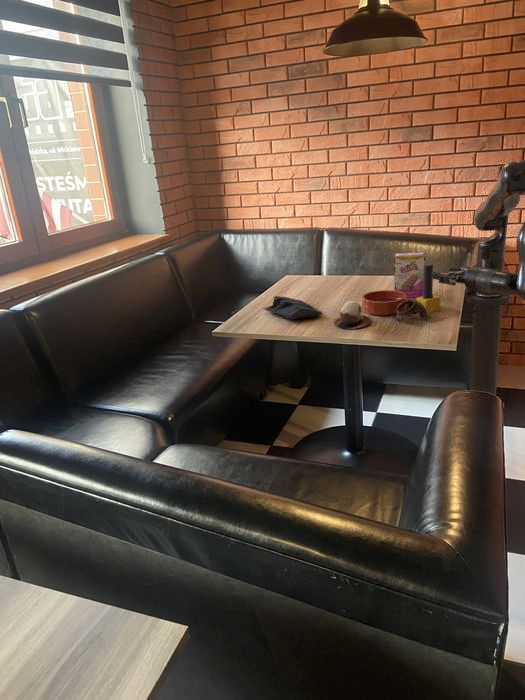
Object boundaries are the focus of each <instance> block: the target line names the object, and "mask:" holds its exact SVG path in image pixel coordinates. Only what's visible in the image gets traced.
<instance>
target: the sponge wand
mask: <svg viewBox="0 0 525 700" xmlns="http://www.w3.org/2000/svg"><path fill="white" fill-rule="evenodd" d="M433 272H434V264H433V263H425V264H424V279H423V296H421V297H418V298H414V299H416V300H417V302H420V303H421V304H422V305H423V306H424V308H425V309H426V311H427V314H429V313H432V312H434V311H437V310H440V309H441V296H439V295H435V294H433V281H434V279H433V278H432V273H433Z"/></svg>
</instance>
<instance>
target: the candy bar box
mask: <svg viewBox="0 0 525 700" xmlns="http://www.w3.org/2000/svg"><path fill="white" fill-rule="evenodd" d="M393 259H394V261H393V262H394V268H393V269H394V272H393V273H394V291H400V292H404V293H405V294H407V299H412V298H414V299H415V298H418V297H421V296H423V279H424V264H426V252H405V253H403V252H402V253H394V258H393Z"/></svg>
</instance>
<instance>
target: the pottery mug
mask: <svg viewBox="0 0 525 700" xmlns="http://www.w3.org/2000/svg"><path fill="white" fill-rule="evenodd" d="M406 304H407V309H406V310H404V311H402V312H400V310H401V308H403V307H404V306H405V305H406ZM396 312H397V314H396V319H397V321H398V322H399V321H400V320H406V319H408V318H412V319H413V318H414V315H417V314H419V317H420V318H425V321H426V322H428V321H429V317H428V313H427V311H426V309H425V308H424V306H423V305H422V304H421V303H420V302H417V300H416V299H415V298H407V300H405V301H403V302H402V303H400V304H399V305H398V307H397V310H396Z"/></svg>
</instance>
